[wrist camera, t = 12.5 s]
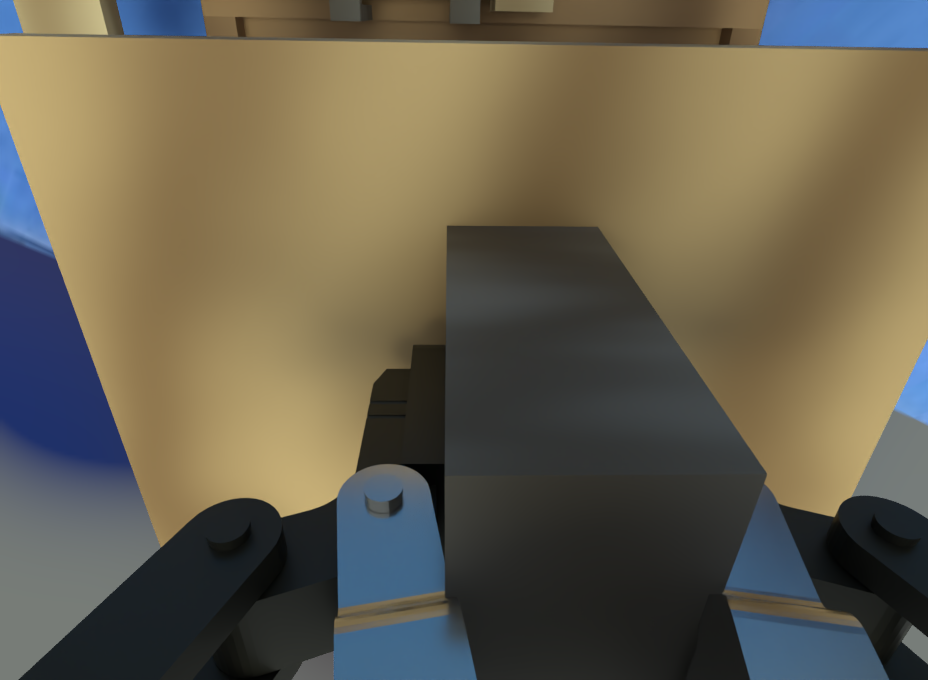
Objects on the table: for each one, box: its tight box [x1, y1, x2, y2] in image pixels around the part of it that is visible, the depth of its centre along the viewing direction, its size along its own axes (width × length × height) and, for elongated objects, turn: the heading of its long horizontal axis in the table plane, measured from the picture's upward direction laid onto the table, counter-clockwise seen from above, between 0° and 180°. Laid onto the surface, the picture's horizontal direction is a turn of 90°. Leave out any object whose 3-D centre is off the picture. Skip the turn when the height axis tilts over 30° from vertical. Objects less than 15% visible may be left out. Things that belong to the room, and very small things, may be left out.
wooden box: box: [201, 0, 769, 45], centre depth 27 cm, size 22×18×12 cm
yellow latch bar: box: [13, 0, 554, 35], centre depth 21 cm, size 19×6×3 cm, turn 89°
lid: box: [0, 33, 928, 680], centre depth 10 cm, size 19×12×8 cm, turn 89°
